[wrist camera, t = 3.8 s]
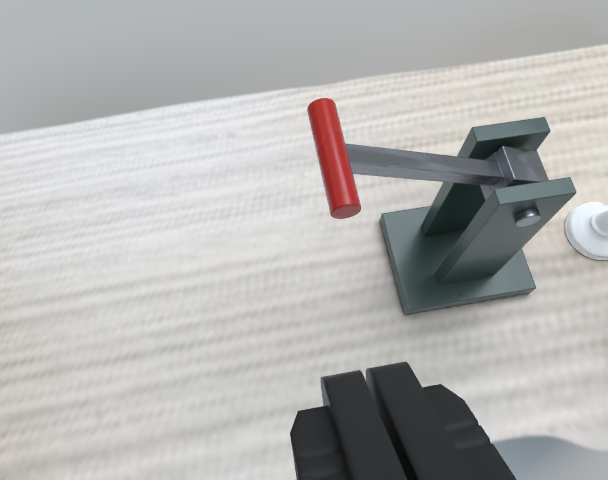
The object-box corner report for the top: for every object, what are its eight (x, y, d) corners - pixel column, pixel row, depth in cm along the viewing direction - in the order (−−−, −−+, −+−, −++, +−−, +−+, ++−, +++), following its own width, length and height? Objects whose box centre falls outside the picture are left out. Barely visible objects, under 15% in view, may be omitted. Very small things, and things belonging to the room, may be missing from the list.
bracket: (404, 315, 42) (457, 238, 29) (379, 219, 45) (417, 112, 32) (530, 293, 43) (636, 209, 30) (497, 201, 46) (580, 89, 33)
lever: (320, 223, 27) (345, 198, 25) (298, 119, 29) (319, 89, 27) (530, 231, 33) (562, 212, 31) (497, 146, 35) (526, 123, 33)
